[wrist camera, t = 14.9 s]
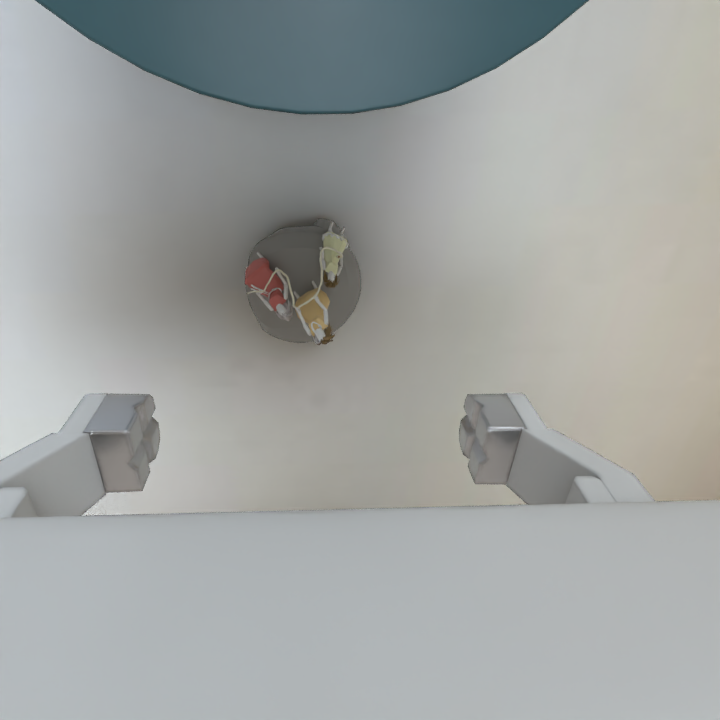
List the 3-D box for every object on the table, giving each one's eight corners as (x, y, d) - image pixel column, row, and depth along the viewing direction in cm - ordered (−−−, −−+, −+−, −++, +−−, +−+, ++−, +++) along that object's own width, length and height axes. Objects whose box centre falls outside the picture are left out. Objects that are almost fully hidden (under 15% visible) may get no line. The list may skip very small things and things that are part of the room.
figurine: (316, 336, 23) (320, 419, 17) (226, 291, 21) (201, 368, 16) (381, 239, 20) (407, 301, 15) (285, 181, 19) (279, 228, 14)
